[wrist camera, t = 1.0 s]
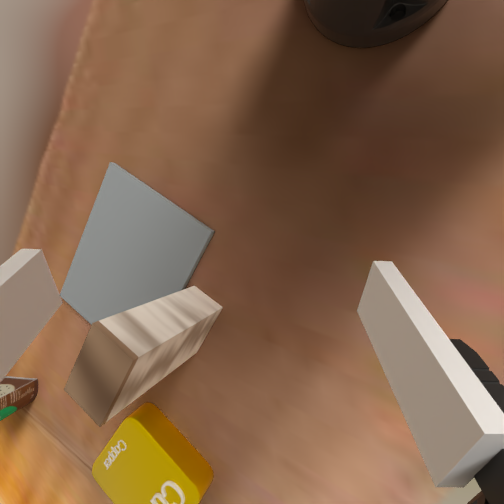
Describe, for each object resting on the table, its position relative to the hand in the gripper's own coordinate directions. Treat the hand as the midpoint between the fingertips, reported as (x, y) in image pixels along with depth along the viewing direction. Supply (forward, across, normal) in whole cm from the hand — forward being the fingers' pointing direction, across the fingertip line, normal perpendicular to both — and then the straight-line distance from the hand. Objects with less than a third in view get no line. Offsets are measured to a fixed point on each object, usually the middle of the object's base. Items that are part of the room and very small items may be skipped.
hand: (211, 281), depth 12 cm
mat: (+26, -15, -18) cm, 35 cm away
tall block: (+20, -5, -22) cm, 30 cm away
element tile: (+12, -10, -45) cm, 48 cm away
